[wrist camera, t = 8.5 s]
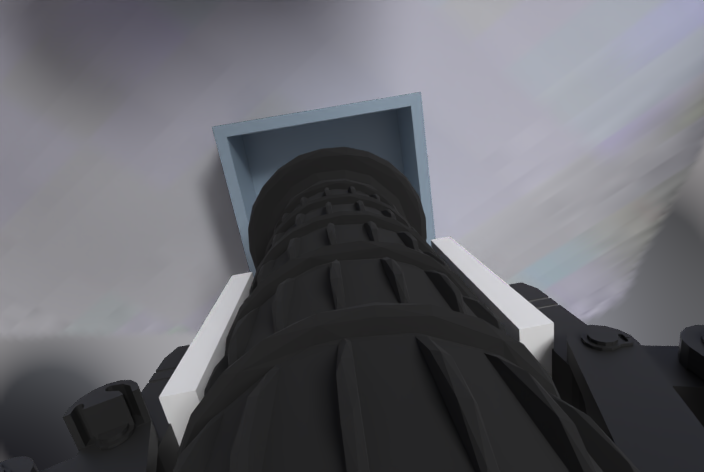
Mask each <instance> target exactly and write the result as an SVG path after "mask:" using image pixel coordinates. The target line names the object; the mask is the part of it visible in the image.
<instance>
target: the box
mask: <svg viewBox="0 0 704 472" xmlns="http://www.w3.org/2000/svg"><path fill="white" fill-rule="evenodd" d="M212 129H213V133H214V137H215V141H216V144H217V148H218V152H219V156H220V160H221V163H222V167H223V171H224V175H225V179H226V182H227V186H228V190H229V194H230V198H231V202H232V205H233V209H234V213H235V217H236V221H237V224H238V228H239V232H240V236H241V240H242V243H243V247H244V251H245V255H246V259H247V263H248V266H249V270H250V272H252V273H253V277H254V276H255V273H256V269H255V266H254V263H253V260H252V257H251V254H250V251H249V237H248V226H249V221H250V216H251V210H252V206H253V204H254V202H255V200H256V198H257V197H258V195H259V193H260V191H261V189H262V187H263V186H264V184H265V183H266V182H267V181H268V180H269V179H270V178H271V176H272V175H273V174H274V173H275V172H276V171H277V170H278V169H279V168H280V167H282V166H283V165H285V164H286V163H288V162H289V161H291V160H292V159H294V158H295V157H297V156H298V155H302V154H305V153H308V152H311V151H315V150H318V149H322V148H334V147H349V148H354V149H359V150H364V151H369V152H371V153H373V154H375V155H377V156H379V157H381V158H383V159H385V160H387V161H389V162H390V163H391V164H392V165H394V166H395V167H396V168H397V169H398V170H399V171H400V172H401V173H402V174H404V175H405V176H406V177H407V179H408V180H409V182H410V183H411V185H412V186H413V188H414V189H415V191H416V192H417V194H418V195H419V197H420V200H421V203H422V207H423V210H424V214H425V217H426V231H427V239H426V242H427V243H428V244H429V245H430V246H431V240H433V239H435V229H434V219H433V209H432V199H431V188H430V178H429V168H428V158H427V148H426V138H425V128H424V118H423V108H422V98H421V92H417V93H411V94H405V95H399V96H393V97H387V98H381V99H376V100H370V101H364V102H358V103H352V104H346V105H340V106H334V107H328V108H322V109H316V110H310V111H304V112H298V113H292V114H286V115H280V116H274V117H268V118H262V119H256V120H250V121H244V122H238V123H232V124H226V125H220V126H214V127H212ZM431 247H432V246H431Z"/></svg>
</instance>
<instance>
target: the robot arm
mask: <svg viewBox="0 0 704 472" xmlns="http://www.w3.org/2000/svg"><path fill="white" fill-rule="evenodd" d="M431 246H432V248H433V249H434V251H435V253H436V254H437V255H439V256H440V257H441V258H442V259H443V260H444V261H445V262H446V264H447V265H448V266H449V269H450V270H452V271H453V272H455V273H456V274H458V275H459V276H460V278H461V279H462V280H463V281H464V282H465V284H466V285H467V286H468V287H469V288H470V290H471V291H472V292H473V293H474V294H475V296H476V297H477V298H478V301H479V302H481V303H484V304H485V305H486V306H487V307H488V308H489V309H490V311H491V312H492V313H493V314H494V315H495V316H496V317H497V318H498V319H499V320H500V322H501V323H502V324H503V325H504V327H505V330H506V333H507V334H508V335H509V336H511V337H513V338H514V339H516V340H518V341H519V342H521V343H523V344H524V345H525V346H526V347H527V349H528V350H529V351H530V352H531V353H532V354H533V356H534V357H535V358H536V359H537V360H538V361H539V363H540V364H541V365H542V366H543V367H544V368H545V370H546V371H547V372H548V373H549V374H550V376H551V378H552V380H553V382H554V385H555V387H556V389H557V391H558V393H559V396H560V398H561V400H563V401H565V402H566V403H568V404H570V405H572V406H573V407H575V408H577V409H578V410H580V411H582V412H584V413H585V414H587V415H589V416H590V417H591V418H592V420H593V421H594V422H595V423H596V424H597V425H598V426H599V427H600V428H601V429H602V430H603V431H604V433H605V434H606V435H607V436H608V437H609V438H610V439H611V440H612V441H613V442H614V443H615V445H616V446H617V447H618V448H619V449H620V450H621V451H622V452H623V453H624V454H625V455H626V457H627V458H628V459H629V460H630V461H631V462H632V463H633V464H634V465H635V466H636V467H637V469H638V470H639V471H640V472H704V325H694V326H691V327H687V328H685V329H684V330H683V331H682V332H681V334H680V343H679V346H643V345H640V343H639V342H637V340H635V339H634V338H633V337H632V336H630V335H629V334H627V333H625V332H622V331H620V330H618V329H614V328H610V327H606V326H598V325H586V324H585V323H584V322H582V321H581V320H580V319H578V318H577V317H575V316H574V315H573V314H571V313H570V312H569V311H567V310H566V309H565V308H563V307H562V306H561V305H558V304H557V303H556V302H555V301H554V300H552V299H551V298H548V296H547V295H546V294H544V293H543V292H542V291H540V290H539V289H537V288H535V287H532V286H529V285H527V284H524V283H516V284H510V285H508V284H507V283H505V282H504V281H503V280H502V279H501V278H499V277H498V276H497V275H496V274H495V273H493V272H492V271H491V270H490V269H489V268H487V267H486V266H485V265H484V264H483V263H481V262H480V261H479V260H478V259H477V258H475V257H474V256H473V255H472V254H471V253H469V252H468V251H467V250H466V249H465V248H463V247H462V246H461V245H460V244H459V243H457V242H456V241H455V240H454V239H453V238H451V237H444V238H439V239H433V240H431ZM253 279H254V277H253V273H252V272H248V273H243V274H237V275H232V276H231V278H230V280H229V281H228V283H227V285H226V286H225V288H224V290H223V291H222V293H221V295H220V296H219V298H218V300H217V301H216V303H215V305H214V306H213V308H212V310H211V311H210V313H209V315H208V316H207V318H206V320H205V321H204V323H203V325H202V326H201V328H200V330H199V331H198V333H197V335H196V336H195V338H194V340H193V341H192V343H191V345H187V346H182V347H178V348H176V349H175V350H174V351H173V352H172V353H171V354H169V355H168V356H167V357H166V358H164V360H163V361H162V363H161V364H160V366H159V367H158V369H157V370H156V373H154V374H153V376H152V378H151V379H150V380H149V383H148V384H147V385H146V387H145V388H144V389H143V391H142V392H140V389H139V386H138V384H137V383H136V382H134V381H132V380H120V381H117V382H113V383H110V384H106V385H104V386H102V387H99V388H97V389H95V390H93V391H91V392H90V393H88V394H87V395H85V396H83V397H82V398H80V399H79V400H78V401H77V402H75V403H74V404H73V405H72V406H71V407H70V408H69V409H68V410H67V412H66V413H65V414H64V416H63V419H64V421H65V423H66V425H67V427H68V429H69V431H70V433H71V435H72V437H73V439H74V441H75V444H76V446H77V448H78V450H79V451H78V454H77V456H76V457H74V458H71V459H69V460H66V461H64V462H62V463H59V464H57V465H54V466H52V467H49V468H47V469H45V470H42V471H38V469H37V467H36V465H35V463H34V461H33V460H32V459H31V458H28V457H26V456H23V457H15V458H11V459H8V460H5V461H3V462H0V472H173V470H174V467H175V465H176V463H177V459H178V449H179V446H180V444H181V441H182V438H183V435H184V432H185V429H186V427H187V424H188V421H189V418H190V415H191V413H192V412H193V411H194V409H195V408H196V407H197V405H198V404H199V403H200V401H201V400H202V399H203V397H204V390H205V388H206V385H207V383H208V381H209V379H210V377H211V374H212V372H213V370H214V368H215V366H216V365H217V364H218V363H219V362H220V360H221V359H222V358H223V357H224V356H225V347H226V338H227V336H228V333H229V331H230V329H231V326H232V324H233V322H234V320H235V317H236V315H237V313H238V310H239V308H240V306H241V305H242V304H243V302H244V300H245V299H246V298H247V297H248V296H249V291H250V288H251V285H252V282H253Z"/></svg>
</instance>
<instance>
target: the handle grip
mask: <svg viewBox="0 0 704 472" xmlns="http://www.w3.org/2000/svg"><path fill="white" fill-rule="evenodd" d="M248 237H249V251H250V254H251V257H252V260H253V263H254V266H255V269H256V273H255V276H254V279H253V282H252V285H251V288H250V291H249V296H248V297H247V298H246V299H245V300H244V302H243V304H242V305H241V306H240V308H239V310H238V313H237V315H236V317H235V320H234V322H233V324H232V326H231V329H230V331H229V333H228V336H227V338H226V347H225V356H224V357H223V358H222V359H221V360H220V362H219V363H218V364H217V365H216V366H215V368H214V370H213V372H212V374H211V377H210V379H209V381H208V383H207V385H206V388H205V390H204V397H203V399H202V400H201V401H200V403H199V404H198V405H197V407H196V408H195V409H194V411H193V412H192V413H191V415H190V418H189V421H188V424H187V427H186V429H185V432H184V435H183V438H182V441H181V444H180V446H179V449H178V459H177V463H176V465H175V467H174V470H173V472H640V471H639V470H638V469H637V467H636V466H635V465H634V464H633V463H632V462H631V461H630V460H629V459H628V458H627V457H626V455H625V454H624V453H623V452H622V451H621V450H620V449H619V448H618V447H617V446H616V445H615V443H614V442H613V441H612V440H611V439H610V438H609V437H608V436H607V435H606V434H605V433H604V431H603V430H602V429H601V428H600V427H599V426H598V425H597V424H596V423H595V422H594V421H593V420H592V418H591V417H590V416H589V415H587V414H585V413H584V412H582V411H580V410H578V409H577V408H575V407H573V406H572V405H570V404H568V403H566V402H565V401H563V400H561V398H560V396H559V393H558V391H557V389H556V387H555V385H554V382H553V380H552V378H551V376H550V374H549V373H548V372H547V371H546V370H545V368H544V367H543V366H542V365H541V364H540V363H539V361H538V360H537V359H536V358H535V357H534V356H533V354H532V353H531V352H530V351H529V350H528V349H527V347H526V346H525V345H524V344H523V343H521V342H519V341H518V340H516V339H514V338H513V337H511V336H509V335H508V334H507V333H506V330H505V327H504V325H503V324H502V323H501V322H500V320H499V319H498V318H497V317H496V316H495V315H494V314H493V313H492V312H491V311H490V309H489V308H488V307H487V306H486V305H485V304H484V303H481V302H479V301H478V298H477V297H476V296H475V294H474V293H473V292H472V291H471V290H470V288H469V287H468V286H467V285H466V284H465V282H464V281H463V280H462V279H461V278H460V276H459V275H458V274H456V273H455V272H453V271H452V270H450V269H449V266H448V265H447V264H446V262H445V261H444V260H443V259H442V258H441V257H440V256H439V255H437V254H436V253H435V251H434V249H433V248H432V247H431V246H430V245H429V244H428V243H427V242H426V239H427V231H426V217H425V214H424V210H423V207H422V203H421V200H420V197H419V195H418V194H417V192H416V191H415V189H414V188H413V186H412V185H411V183H410V182H409V180H408V179H407V177H406V176H405V175H404V174H402V173H401V172H400V171H399V170H398V169H397V168H396V167H395V166H394V165H392V164H391V163H390V162H389V161H387V160H385V159H383V158H381V157H379V156H377V155H375V154H373V153H371V152H369V151H364V150H359V149H354V148H349V147H334V148H322V149H318V150H315V151H311V152H308V153H305V154H302V155H298V156H297V157H295V158H294V159H292V160H291V161H289V162H288V163H286V164H285V165H283V166H282V167H280V168H279V169H278V170H277V171H276V172H275V173H274V174H273V175H272V176H271V178H270V179H269V180H268V181H267V182H266V183H265V184H264V186H263V187H262V189H261V191H260V193H259V195H258V197H257V198H256V200H255V202H254V204H253V206H252V210H251V216H250V221H249V226H248Z"/></svg>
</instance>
